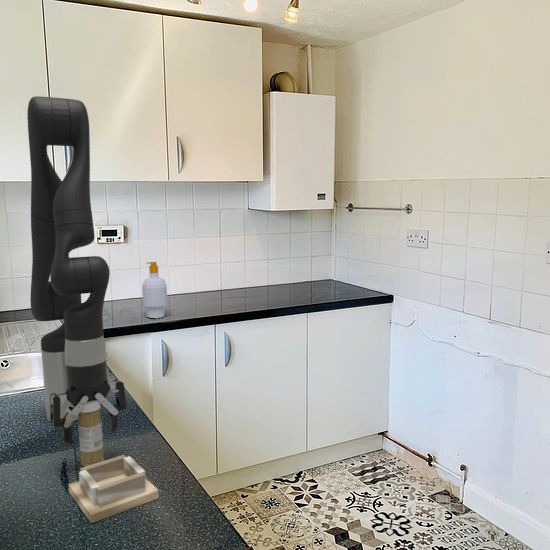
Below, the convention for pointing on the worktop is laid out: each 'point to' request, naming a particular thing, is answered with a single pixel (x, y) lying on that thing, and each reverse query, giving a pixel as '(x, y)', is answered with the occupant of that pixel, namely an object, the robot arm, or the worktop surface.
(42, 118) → the robot arm
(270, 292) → the worktop surface
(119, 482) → the collar base
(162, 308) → the soap bottle
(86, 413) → the sprinkles bottle
